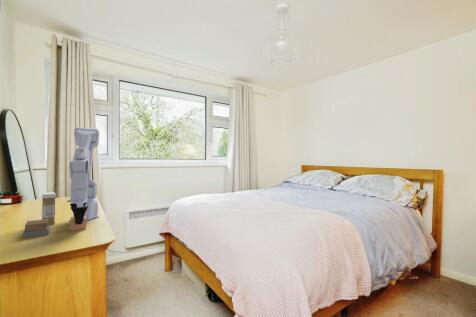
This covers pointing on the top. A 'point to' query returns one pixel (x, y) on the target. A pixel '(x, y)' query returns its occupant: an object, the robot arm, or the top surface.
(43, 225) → the tower top
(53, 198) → the sprinkles bottle
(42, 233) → the tower base
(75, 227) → the block
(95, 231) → the top surface
